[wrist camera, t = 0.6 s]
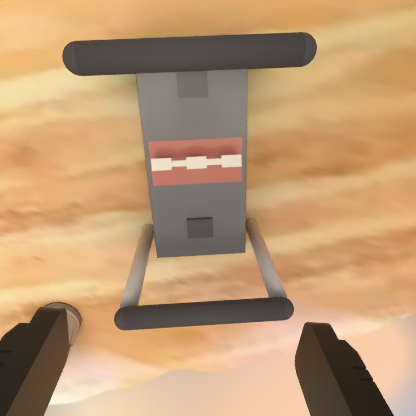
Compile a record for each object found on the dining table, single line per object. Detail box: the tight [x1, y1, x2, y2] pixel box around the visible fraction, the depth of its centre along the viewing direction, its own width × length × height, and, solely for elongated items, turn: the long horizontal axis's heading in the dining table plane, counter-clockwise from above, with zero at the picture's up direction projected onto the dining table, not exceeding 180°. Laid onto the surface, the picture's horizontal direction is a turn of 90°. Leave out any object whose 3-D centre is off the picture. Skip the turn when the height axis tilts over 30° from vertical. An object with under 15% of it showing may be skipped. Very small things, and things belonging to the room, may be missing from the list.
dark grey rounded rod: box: [62, 32, 317, 76], centre depth 21 cm, size 16×2×2 cm, turn 92°
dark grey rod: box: [114, 297, 294, 330], centre depth 29 cm, size 16×2×2 cm, turn 92°
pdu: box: [120, 69, 287, 308], centre depth 34 cm, size 16×24×16 cm, turn 2°
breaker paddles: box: [151, 154, 242, 171], centre depth 34 cm, size 9×1×3 cm, turn 92°
